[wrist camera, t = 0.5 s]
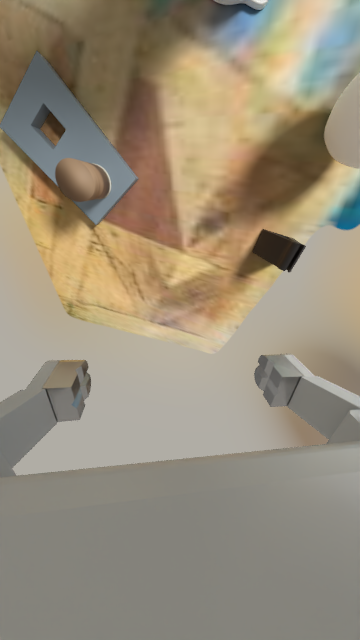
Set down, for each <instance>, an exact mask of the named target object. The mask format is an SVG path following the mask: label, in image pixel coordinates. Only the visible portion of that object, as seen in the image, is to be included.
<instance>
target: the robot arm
mask: <svg viewBox="0 0 360 640" xmlns="http://www.w3.org/2000/svg"><path fill="white" fill-rule="evenodd" d="M214 1H215V2H217V3H220V4H224V5H233V4H239V3H245V4H247V5H248V6H250V7H252V8H254V9H257V10H261V9H263V8H264V7H265V6H266V5H267V3H268V1H269V0H214ZM258 363H259V364H260V365H259V366H258V367H257V368H256V370H255V373H254V375H255V382H256V384H257V386H258V387H259V388H260V389H261V390H263V391H264V394H263V395H264V397H265V399H266V400H267V402H268V403H269V405H270V406H271V407H275V406H288V408H289V409H291V410H292V411H294V412H295V413H296V414H297V415H298V416H300V417H301V418H302V419H304V420H305V421H306V422H307V423H308V424H310V425H311V426H312V427H314V428H315V429H316V430H317V431H319V432H320V433H321V434H322V435H324V436H325V437H326V438H328V439H329V441H328V442H327V444H322V445H312V446H303V447H294V448H283V449H273V450H264V451H254V452H245V453H234V454H225V455H215V456H206V457H195V458H186V459H177V460H166V461H156V462H147V463H137V464H127V465H117V466H108V467H98V468H88V469H79V470H69V471H58V472H49V473H39V474H29V475H20V476H16V474H15V472H14V471H13V469H12V468H13V466H15V465H16V464H17V463H18V462H19V461H20V460H21V458H23V457H24V456H25V455H26V454H27V453H28V452H29V451H30V450H31V449H32V448H33V447H34V446H35V445H36V444H37V443H38V442H39V441H40V440H41V439H42V438H43V437H44V436H45V435H46V434H47V433H48V432H49V431H50V430H51V429H52V428H53V427H54V426H55V425H56V424H57V422H62V421H72V420H80V418H81V415H82V412H83V410H84V407H85V404H84V400H85V399H86V398H87V397H88V396H89V393H90V388H91V377H90V375H89V374H88V373H87V370H88V363H87V361H86V360H61V361H59V360H57V361H47V362H45V364H44V365H43V366H42V368H41V369H40V370H39V372H38V373H37V374H36V376H35V377H34V378H33V380H32V381H31V383H30V384H29V385H28V387H27V388H26V389H25V390H20V391H18V392H17V393H15V394H13V395H12V396H10V397H9V398H7V399H5V400H3V401H2V402H0V640H360V397H359V396H358V395H355V394H354V393H351V392H349V391H347V390H345V389H343V388H341V387H339V386H337V385H335V384H333V383H331V382H329V381H327V380H325V379H323V378H321V377H319V376H314V375H313V374H312V373H311V372H310V371H309V370H308V369H307V368H306V367H305V366H304V365H303V364H302V363H301V362H300V361H299V360H298V359H297V358H296V357H295V356H294V355H292V354H280V355H261V356H260V358H259V360H258Z"/></svg>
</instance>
